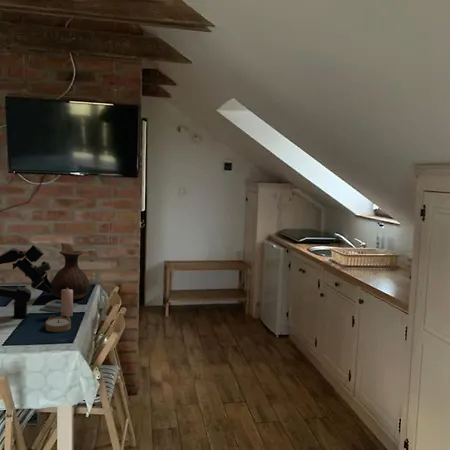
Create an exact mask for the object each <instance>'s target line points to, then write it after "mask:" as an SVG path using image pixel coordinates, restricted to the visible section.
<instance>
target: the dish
mask: <svg viewBox="0 0 450 450" xmlns="http://www.w3.org/2000/svg"><path fill="white" fill-rule="evenodd" d="M78 305H79V304H78V303H76V302H75V303H74V302H73V309H75V308H77V307H78ZM39 308H40V309H39V311H44V312H54V313H61V299H55V300H54V299H53V300H51V301H49V302H46V303H45V305H43V306H41V307H39Z"/></svg>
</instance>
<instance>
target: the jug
mask: <svg viewBox="0 0 450 450" xmlns="http://www.w3.org/2000/svg"><path fill="white" fill-rule="evenodd" d="M60 245H61V251H59V254H60V255H62V256H63V257H64V265H63V267H62V268H60V269H59V270H58V271H57V272H56V274H55V275H54V277H53V278H52V280H51V282H50V283H51V285H52V286H53V288H52V289H50V290H51V291H52V292H51V294H52V295H53V296H54V297H57V298H59V300H61V290H63V289H66V288H68V289H72V290H73V301H74V300H81V299H82V298H84V297H85V296H86V295H87V294H88V293H89V291H90V289H91V284H90V280H89V277H87V275H86V273H85V272H84V271H83V270H82V269H81V268H80V267H79V264H78V263H79V261H78V260H79V257H80V256H82V255H83V254H84V252H83V251H82V250H74V248H73V246H72V244H71V243H70V242H69V243H67V242H66V243H65V242H61V243H60Z"/></svg>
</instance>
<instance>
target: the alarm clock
mask: <svg viewBox="0 0 450 450" xmlns="http://www.w3.org/2000/svg"><path fill="white" fill-rule="evenodd" d="M71 325H72V320H71V317H69V316H67V315H64V316H61V315H59V316H56V315H51V316H49V317H48V319H47V320H46V321H45V330H46V331H47V332H50V333H51V332H52V333H61V332H67V331H69V330H71V328H72V326H71Z"/></svg>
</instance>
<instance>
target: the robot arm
mask: <svg viewBox="0 0 450 450" xmlns="http://www.w3.org/2000/svg"><path fill="white" fill-rule="evenodd" d="M44 254H45V253H44V252H43V251H42V250H41V249H40V248H39V247H37V246H35V245H34V244H32V245H31V246H30V248H29V249H28V250H27V251H23V250H18V248H15V247H14V248H10V249H9V250H6V251H5V252H3V253H1V254H0V265H3V264H9V263H12V270H15V269H16V268H18V269H19V270H20V272H22V273H23V274H24V276H25V277H28V279H30V281H31V284H30V287H31V288H32V289H33V290H34V289H35V290H39V291H42V292H45V293H47V294H52V291H51V289H52V288H53V286H52V285H51V282H50V280H49V279H48V273H47V271H50V270H51V268H52V267H51V265H50V263H49V262H48V261H41V264H40V265H39V266H37V265H34V264H32V263H37V261H38V260H39V259H41V257H43V255H44ZM0 297H1V298H2V297H4V298H8V299H9V298H10V299H12V300H14V301H13V315H12V316H10V318H11V319H22V320H23V319H25V318H27V317H29V316H30V315H31V314H30V313H28V302H29V301H31V298H32V291H31V290H30V289H29V288H27V286H24V287H23V286H20V285H18V286H17V288H8V287H3V286H0Z"/></svg>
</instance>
